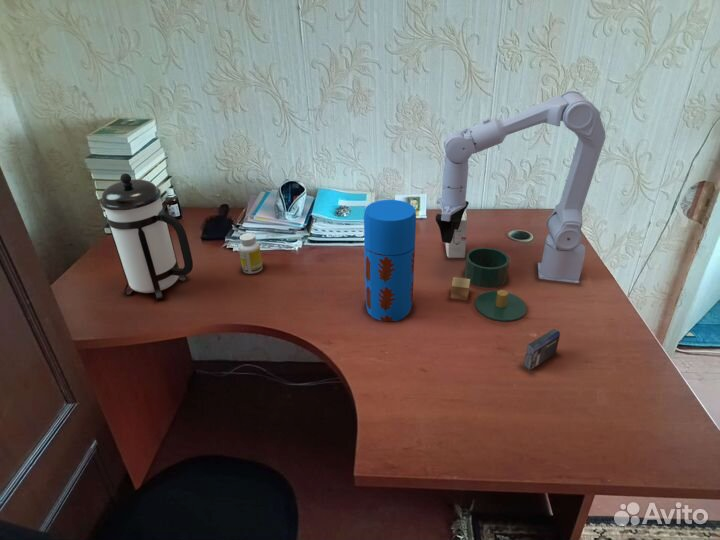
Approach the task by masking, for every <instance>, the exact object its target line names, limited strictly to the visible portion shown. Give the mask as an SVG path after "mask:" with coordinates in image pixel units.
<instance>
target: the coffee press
mask: <svg viewBox="0 0 720 540" xmlns="http://www.w3.org/2000/svg"><path fill="white" fill-rule="evenodd" d="M119 180H120V181H118V182H115V183H113V184H111V185H109V186H108V187H106V188H105V189H104V190H103V191H102V193H101V198H100V200H99V203H100V205H101V207H102V208H103V209H104V212H105V218H106V222H107V224H108V228H109V230H110V234H111V237H112V240H113V243H114V246H115V249H116V252H117V256H118V259H119V262H120V265H121V268H122V272H123V274H124V278H125V281H126V285H125V286H124V290H123V291H124V294H125V295H126V296H130V295H132V293H133V292H134V291H135V292H136V293H137V292H138V293H142V294H150V293H155V297H156V300H157V302H160V301H162V300H163V301H164V298H163V294H162V291H164V290H166V289H168V288H170V287H172V286H173V285H174V284H175V283H176V282H177V281H181V282H185V281H187V275H188V274H190V273H191V272H192V271H193V268H194V262H193V257H192V252H191V248H190V244H189V239H188V236H187V232H186V230H185V228H184V226H183V224H182V223H181V222H180V221H179V219H178V218H176V217H174V216H173V215H171V214H167V213H166V212H165V211H166V210H165V208H164V207H165V206H164V205H163V203H162V199H161V197H162V192H161V189H160V188H159V187H157V186H156V185H155V183H153V182H151V181H149V180H146V179H140V178H139V179H137V178H136V179H132V176H131V175H130V174H129V173H122V174H121V175H120V178H119ZM169 225H170V226H171V227H172V228H173V229H174V230H175V232H176V235H177V238H178V243H179V246H180V247H179V248H180V251H181V255H182V258H183V265H184V266H183V267H182V268H181V267H180V266H179V262H178V258H177V255H176V251H175V247H174V242H173V239H172V235H171V230H170V227H169ZM128 287H130V290H129V291H127V290H128Z"/></svg>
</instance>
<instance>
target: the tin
mask: <svg viewBox="0 0 720 540" xmlns="http://www.w3.org/2000/svg"><path fill="white" fill-rule="evenodd" d="M464 263H465V264H464V273H463V278H466V279H470V284H471V285H473V286H476V287H478V288H483V289H484V288H485V289H494V288H498V287H500V286H503V285H505V283H507V281H508V276H509V275H508V274H509V268H510V257H509V256H508V254H507V253H506V252H503V251H502V250H500V249H496V248H494V247H493V248H492V247H476V248H473V249H470V250H469V251H468V252H467V253H465V262H464Z"/></svg>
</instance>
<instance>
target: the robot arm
mask: <svg viewBox="0 0 720 540" xmlns="http://www.w3.org/2000/svg"><path fill="white" fill-rule="evenodd" d="M561 122H563V124H564V126H565V127H566V128H567V129H568V130H569V131H571V132H572V133H574V134H575V136H576V137H577V142H576V145H575V149H574V153H573V156H572V159H571V164H570V167H569V170H568V173H567V177H566V180H565V182H564V186H563V190H562V193H561V197H560V201H559V203H557V204H556V205H555V206H554V210H553V212H552V213H551V214H550V215H549V216H548V218H547V220H546V228H547V230H548V232H549V233H548V235H547V236H546V238H545V243H544V246H543V253H542V257H541V262H537V270H538V271H537V272H538V279H540V280H549V281H557V282H567V283H574V284H579V283H580V278H581V274H582V271H583V266H584V262H585V258H586V245H585V244H582V240H583V233H582V227H583V224H584V223H583V222H584V221H583V208H584V205H585V203H586V199H587V196H588V193H589V189H590V188H591V184H592V180H593V177H594V174H595V171H596V168H597V166H598V162H599V159H600V156H601V152H602V150H603V147H604V143H605V140H606V136H607V134H606V130H605V128H604V124H603V120H602V118H601V111H600V110H599V109H598V108H597V107H596V106H595V105H594V103H592V102H591V101H589V100H587V98H585V96H584V95H583V94H582V93H580V92H578V91H575V90H569V91H568V90H567V91H566V92H564V93H562V94H561V95H560V94H557V95H554V96H552V97H550V98H549V97H548V99H546V100H544V101H542V102H539V103H537V104H535V105H533V106H531V107H529V108H527V109H524V110H522V111H520V112H518V113H516V114H513V115H511V116H509V117H507V118H505V119H502V120H501V119H498V118H496V117H492V118H491V119H489V117H485V118H482V122H481V123H478V124H476V125H474V126H470V127H468V128H467V127H463V128H461V131H459V130H456V131H455V130H454V131H452V132H450V133H449V134H448V135H447V136H446V138H445V140H444V142H443V146H444V153H445V156H444V160H443V162H444V163H443V170H442V185H441V197H438V198H437V199H436V201H435V203H436V204H438V205H440V209H441V213H437V214H436V215H435V222H436V224H437V226H438V229H439V232H440V238H441V241H442V243H443V244H445V243H451V241H452V239H453V235H454V231H455V230H458V229H459V226H460V223H461V219H462V216H463V213H464V211H465V209H466V208H467V209H468V206H469V204H470V203H469V201H468V200H466V199H467V198H466V197H467V187H468V178H469V169H470V167H469V159H470V158H471V157H472V155H473V154H478V153H479V152H482V151H485V150H487V149H490V148H493V147H495V146H497V145H500V144H503V142H504V141H505V139H506V137H507V136H509V135H511V134H514V133H517V132H520V131H524V130H525V129H526V130H527V129H529V128H532V127H534V126H538V125H540V124H548V125H552V126H555V127H561Z"/></svg>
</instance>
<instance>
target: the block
mask: <svg viewBox="0 0 720 540" xmlns="http://www.w3.org/2000/svg"><path fill="white" fill-rule="evenodd" d="M470 284H471V283H470V279H466V278H465V277H456V276H453V277H452V282H451V288H450V299H454V300H463V301H468V300H469V294H470Z"/></svg>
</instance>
